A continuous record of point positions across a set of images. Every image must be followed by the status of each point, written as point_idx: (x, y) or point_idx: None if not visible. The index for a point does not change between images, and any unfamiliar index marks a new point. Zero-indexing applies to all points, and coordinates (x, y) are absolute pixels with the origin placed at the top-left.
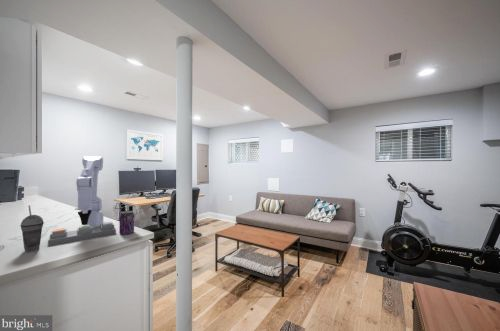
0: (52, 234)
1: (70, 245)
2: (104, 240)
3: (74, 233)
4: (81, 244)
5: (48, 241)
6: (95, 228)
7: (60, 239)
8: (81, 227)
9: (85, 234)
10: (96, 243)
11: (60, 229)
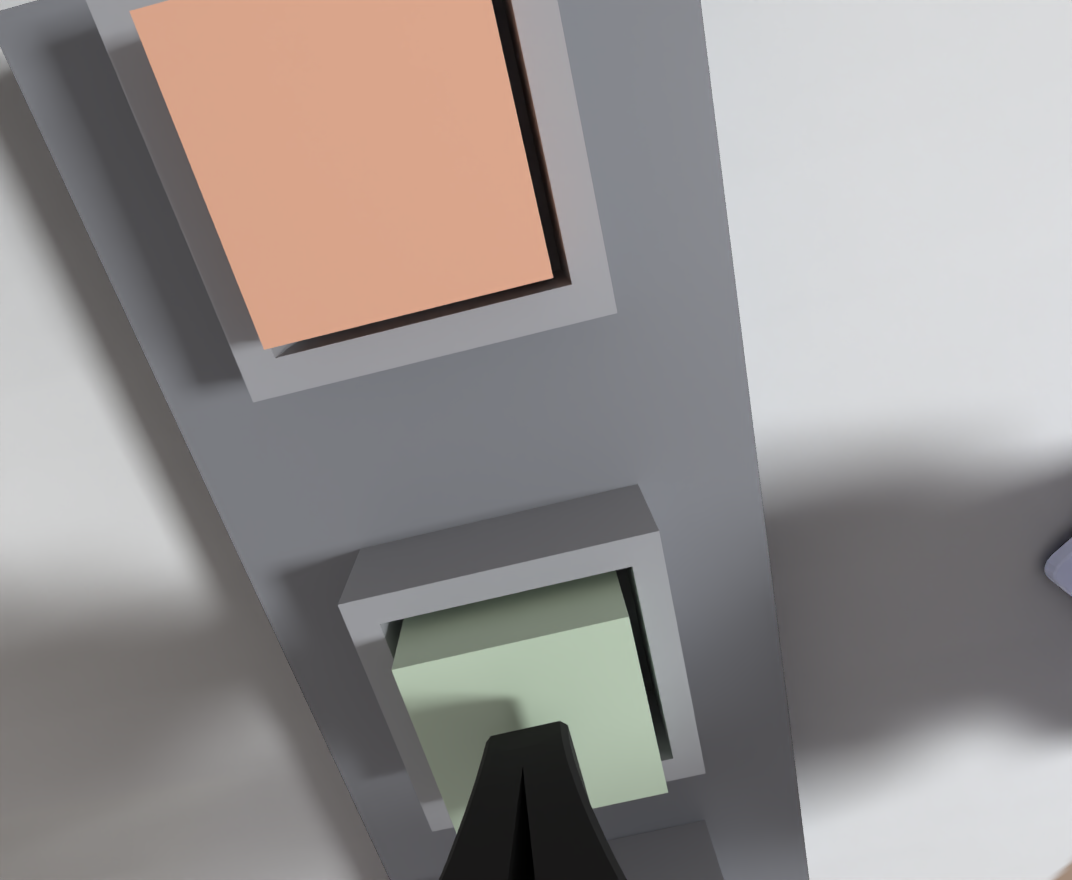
0: (107, 44)
1: (2, 491)
2: (153, 872)
3: (463, 477)
4: (22, 639)
5: (11, 34)
6: (706, 758)
7: (127, 285)
8: (408, 704)
9: (306, 689)
10: (25, 812)
11: (384, 194)
